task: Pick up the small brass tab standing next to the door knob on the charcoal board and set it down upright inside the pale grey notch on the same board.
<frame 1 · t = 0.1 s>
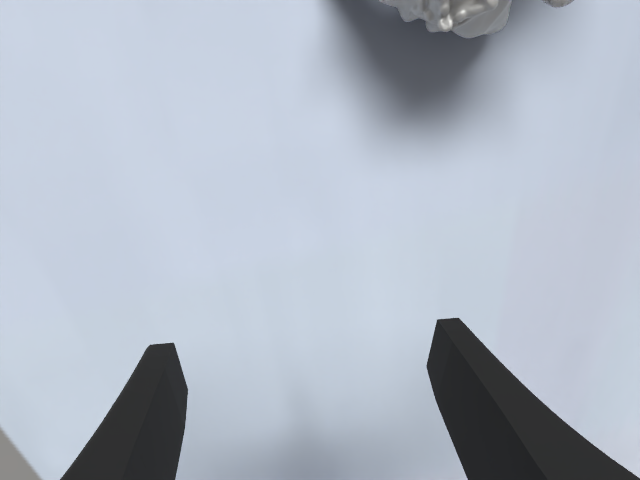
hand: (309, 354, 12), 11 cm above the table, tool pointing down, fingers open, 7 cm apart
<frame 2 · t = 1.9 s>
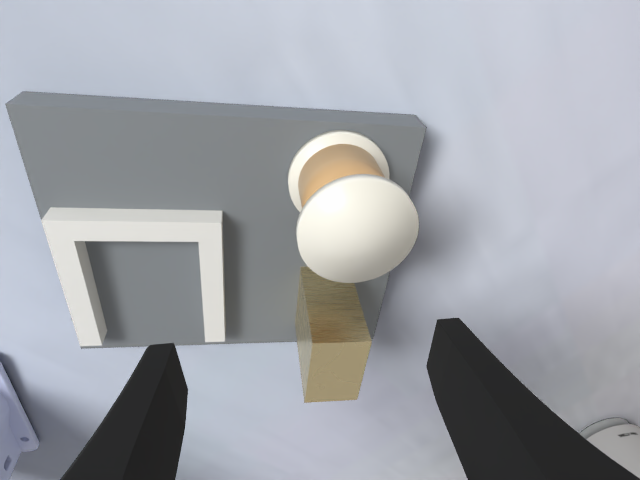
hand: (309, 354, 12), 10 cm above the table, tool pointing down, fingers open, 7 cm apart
brass tab: (320, 295, 23), point 1 cm above the table, touching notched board
door knob: (332, 163, 20), resting on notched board
energy drink can: (599, 431, 40), on the table
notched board: (235, 232, 22), on the table
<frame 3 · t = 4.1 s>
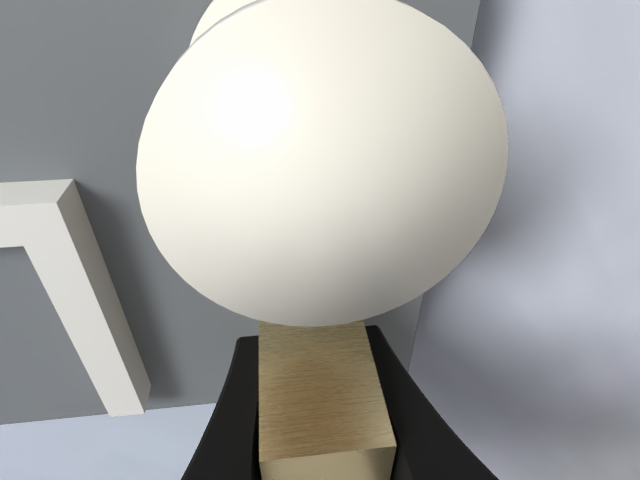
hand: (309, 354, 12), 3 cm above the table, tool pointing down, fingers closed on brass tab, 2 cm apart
brass tab: (305, 324, 13), point 2 cm above the table, touching gripper, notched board
door knob: (294, 67, 10), resting on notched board
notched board: (137, 222, 12), on the table
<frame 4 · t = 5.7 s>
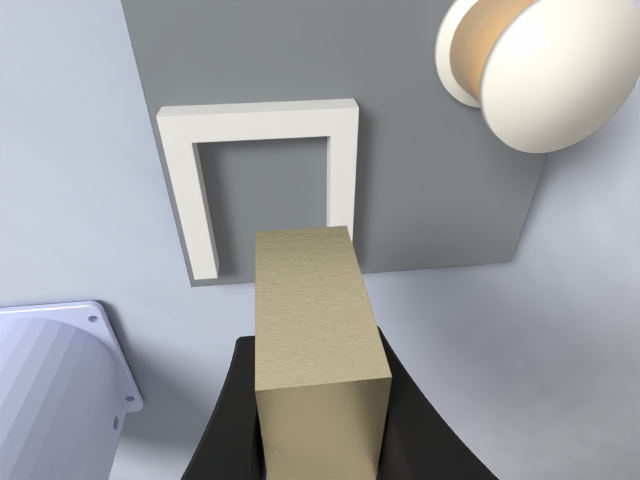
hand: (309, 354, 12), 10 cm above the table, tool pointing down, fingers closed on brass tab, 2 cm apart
brass tab: (303, 283, 13), point 8 cm above the table, touching gripper
door knob: (476, 33, 17), resting on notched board
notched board: (357, 137, 19), on the table
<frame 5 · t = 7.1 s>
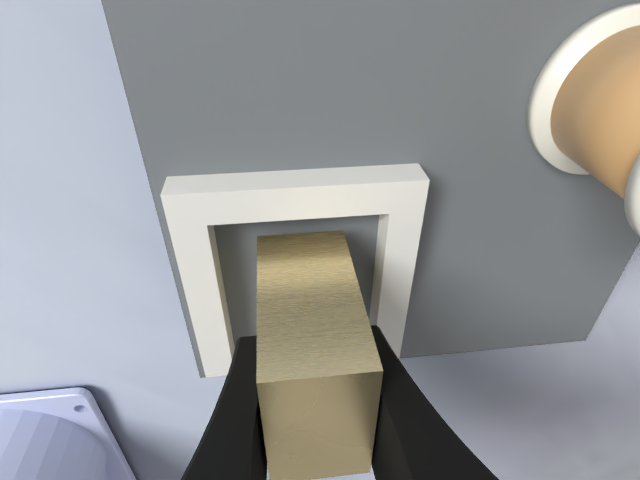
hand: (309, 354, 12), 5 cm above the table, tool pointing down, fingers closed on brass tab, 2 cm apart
brass tab: (302, 285, 14), point 2 cm above the table, touching gripper
door knob: (573, 77, 13), resting on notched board
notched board: (410, 201, 15), on the table
when the fingers open (3 cm above the table, at t = 7.7 s): brass tab stays where it is, resting on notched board.
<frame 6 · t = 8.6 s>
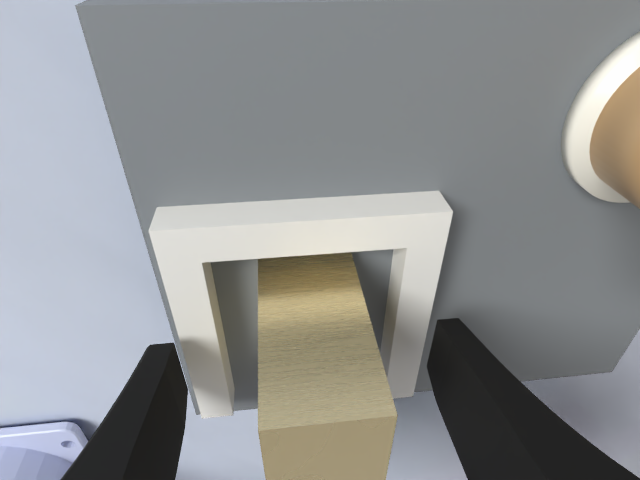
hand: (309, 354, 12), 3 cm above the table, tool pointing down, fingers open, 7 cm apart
brass tab: (305, 304, 13), point 1 cm above the table, touching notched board
door knob: (610, 94, 12), resting on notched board
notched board: (426, 227, 14), on the table
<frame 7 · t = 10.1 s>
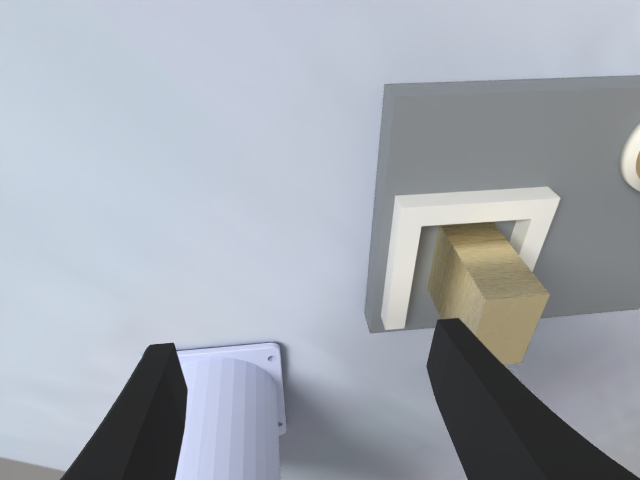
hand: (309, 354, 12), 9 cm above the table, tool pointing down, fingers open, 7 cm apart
brass tab: (457, 256, 21), point 1 cm above the table, touching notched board
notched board: (527, 209, 22), on the table
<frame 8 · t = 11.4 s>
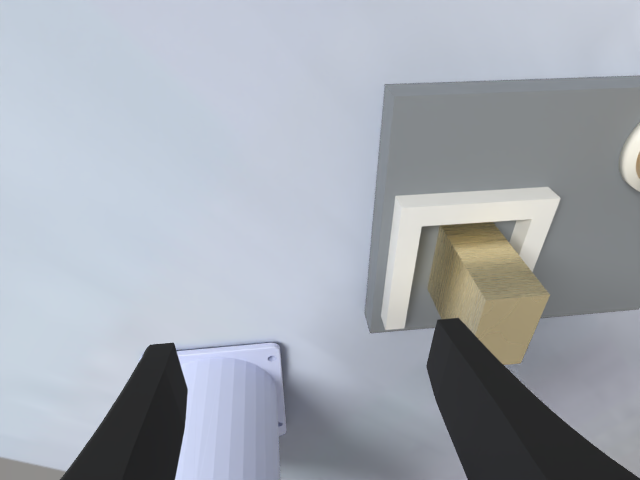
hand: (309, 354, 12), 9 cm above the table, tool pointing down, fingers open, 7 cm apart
brass tab: (457, 256, 21), point 1 cm above the table, touching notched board
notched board: (527, 209, 22), on the table
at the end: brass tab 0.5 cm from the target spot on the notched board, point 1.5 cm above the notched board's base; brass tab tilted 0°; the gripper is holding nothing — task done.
